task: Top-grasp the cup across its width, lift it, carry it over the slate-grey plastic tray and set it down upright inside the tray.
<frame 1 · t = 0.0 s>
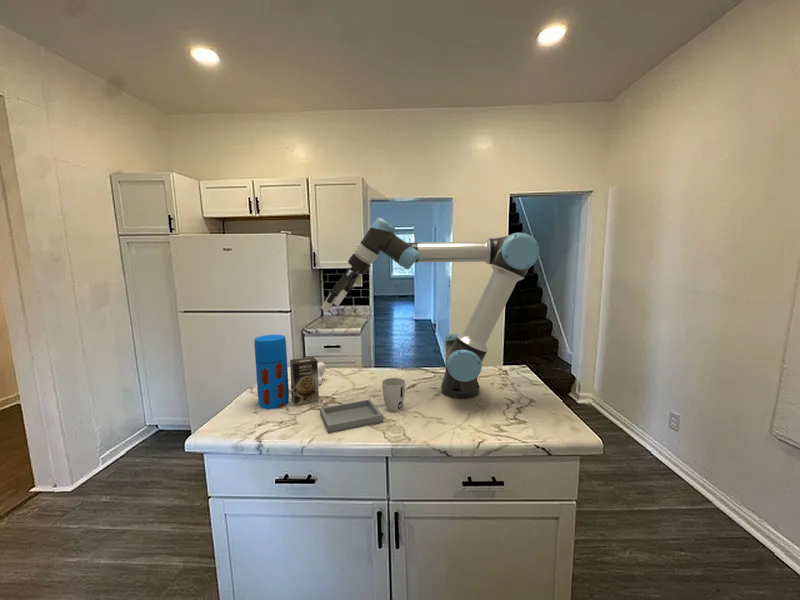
hand: (329, 306, 128), 36 cm above the countertop, tool tilted 35°, fingers open, 13 cm apart
tray: (350, 418, 119), on the countertop
coffee box: (305, 401, 134), on the countertop
cup: (394, 409, 126), on the countertop
thermos: (274, 403, 132), on the countertop
pretzel: (311, 383, 153), on the countertop
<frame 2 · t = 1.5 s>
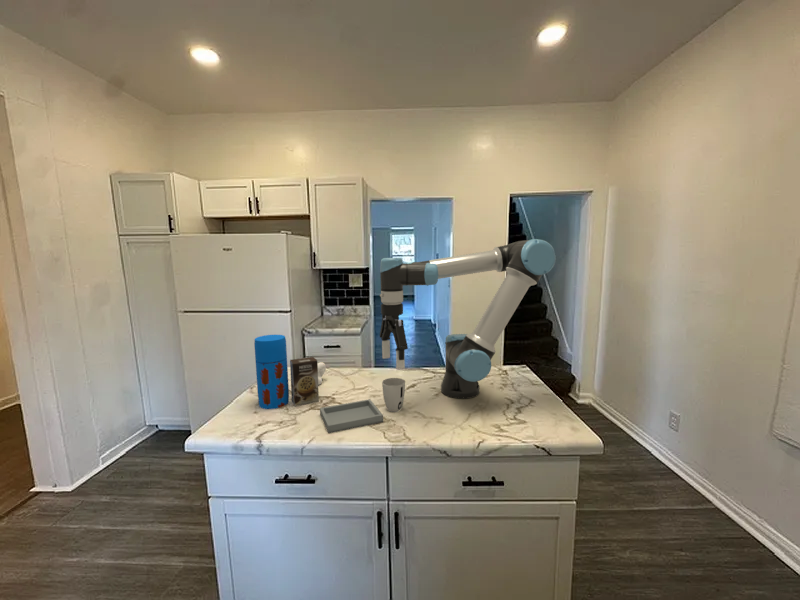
hand: (393, 363, 124), 17 cm above the countertop, tool pointing down, fingers open, 13 cm apart
nothing on the countertop moved.
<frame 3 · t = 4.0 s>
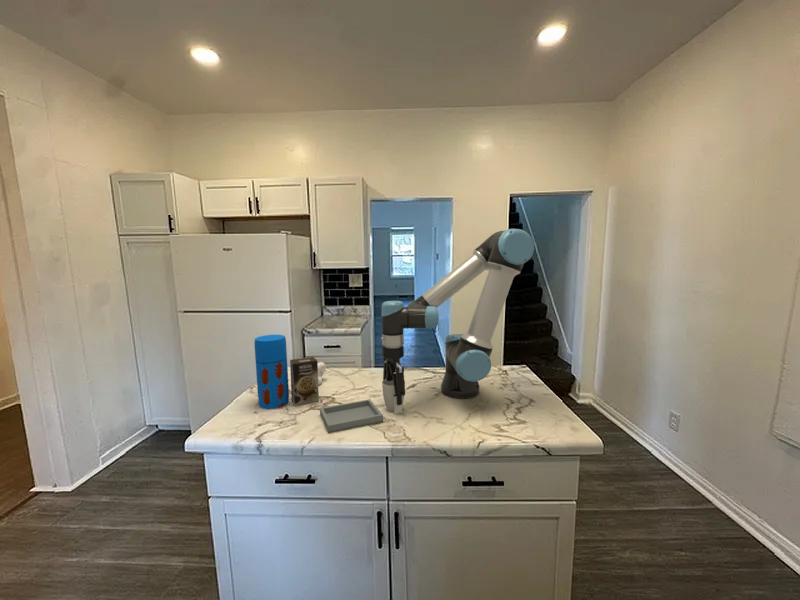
hand: (393, 408, 126), 0 cm above the countertop, tool pointing down, fingers closed on cup, 8 cm apart
cup: (394, 409, 126), on the countertop, touching gripper
everything else where it was.
when the fingers open (2 cm above the countertop, at t = 10.4 s): cup drops 1 cm, resting on tray.
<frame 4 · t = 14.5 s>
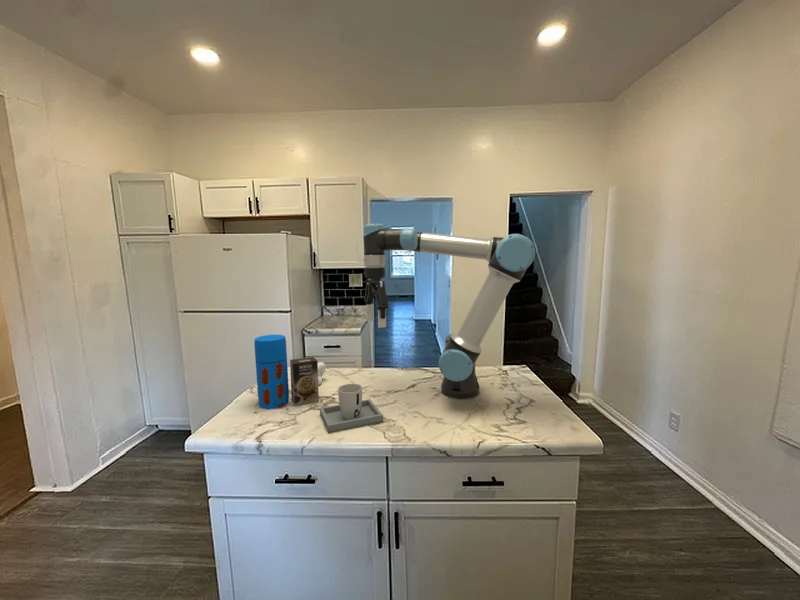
hand: (375, 324, 132), 29 cm above the countertop, tool pointing down, fingers open, 13 cm apart
cup: (351, 417, 119), resting on tray
everything else where it was.
at the end: cup inside the target area on the tray (0.1 cm from its centre), point 0.4 cm above the tray's base; cup tilted 0°; the gripper is holding nothing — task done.
